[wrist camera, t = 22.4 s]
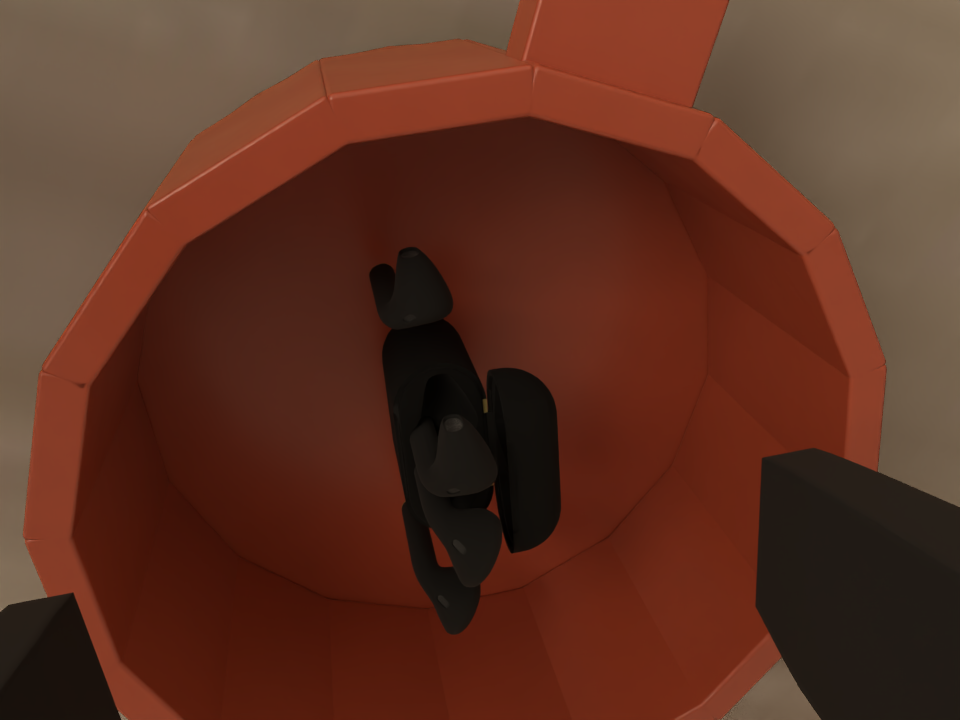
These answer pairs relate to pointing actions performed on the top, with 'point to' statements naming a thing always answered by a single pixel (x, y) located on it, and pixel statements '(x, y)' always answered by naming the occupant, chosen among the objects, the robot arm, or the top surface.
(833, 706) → the robot arm
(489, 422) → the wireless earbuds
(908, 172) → the top surface
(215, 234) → the pan
